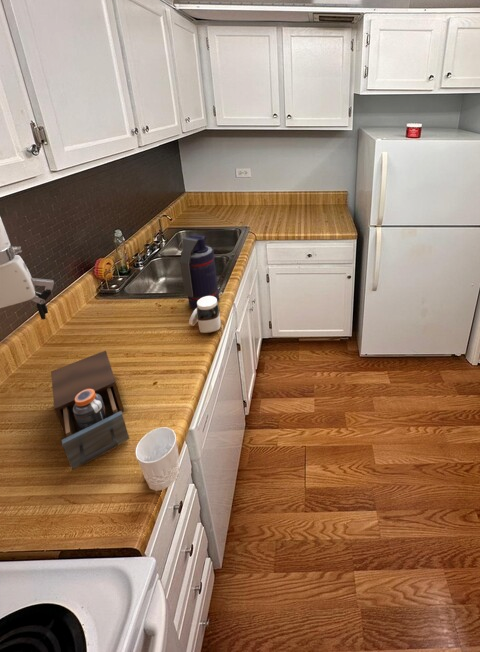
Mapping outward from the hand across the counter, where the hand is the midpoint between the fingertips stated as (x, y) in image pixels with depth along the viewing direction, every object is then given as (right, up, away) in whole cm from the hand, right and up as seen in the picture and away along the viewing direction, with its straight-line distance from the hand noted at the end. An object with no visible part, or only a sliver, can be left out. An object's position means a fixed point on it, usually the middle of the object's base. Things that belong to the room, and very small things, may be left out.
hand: (17, 324), depth 75 cm
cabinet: (+7, -27, +15) cm, 31 cm away
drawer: (+15, -30, +5) cm, 34 cm away
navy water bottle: (+22, -9, +60) cm, 64 cm away
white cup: (+34, -34, -1) cm, 48 cm away
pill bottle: (+14, -28, +7) cm, 32 cm away
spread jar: (+28, -14, +47) cm, 56 cm away
